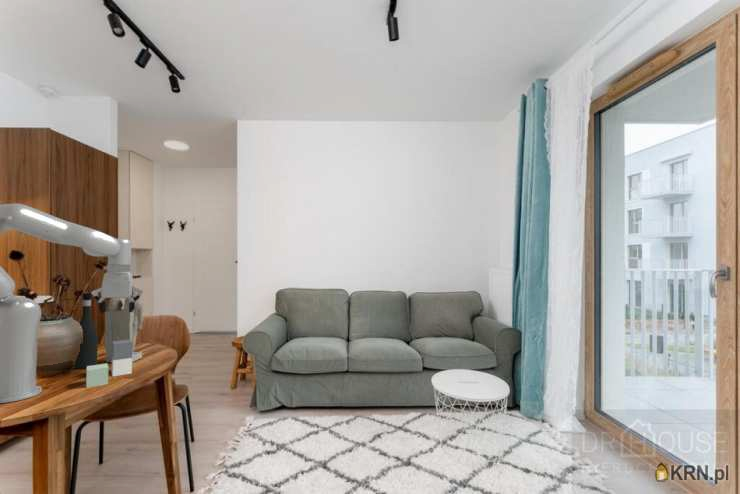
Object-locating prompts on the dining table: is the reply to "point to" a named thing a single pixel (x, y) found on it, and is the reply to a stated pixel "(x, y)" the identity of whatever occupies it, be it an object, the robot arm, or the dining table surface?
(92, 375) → the sage block
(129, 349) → the charcoal block
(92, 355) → the wine bottle
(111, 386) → the dining table surface
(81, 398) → the dining table surface
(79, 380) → the dining table surface
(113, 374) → the cream block
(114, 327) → the sculpture
